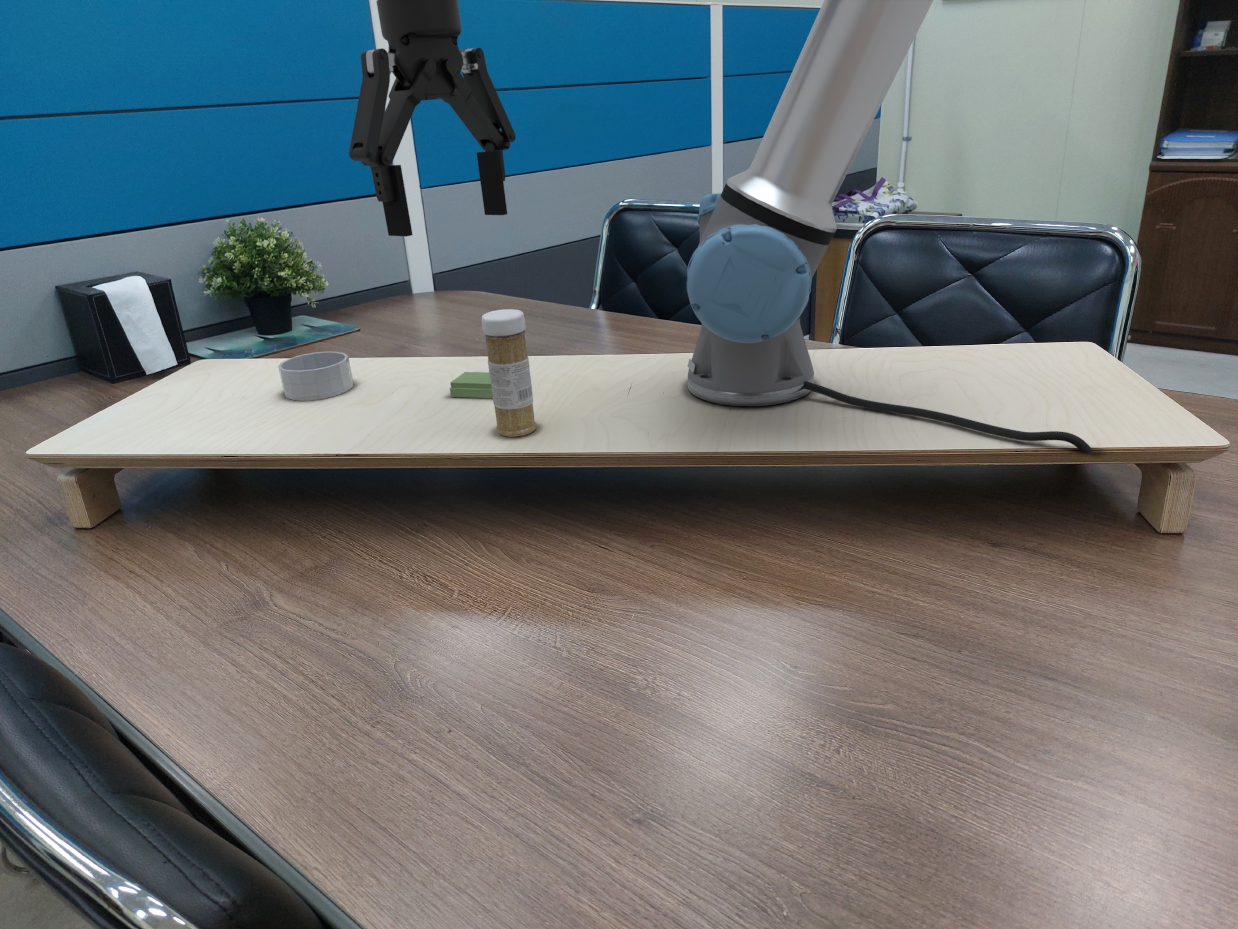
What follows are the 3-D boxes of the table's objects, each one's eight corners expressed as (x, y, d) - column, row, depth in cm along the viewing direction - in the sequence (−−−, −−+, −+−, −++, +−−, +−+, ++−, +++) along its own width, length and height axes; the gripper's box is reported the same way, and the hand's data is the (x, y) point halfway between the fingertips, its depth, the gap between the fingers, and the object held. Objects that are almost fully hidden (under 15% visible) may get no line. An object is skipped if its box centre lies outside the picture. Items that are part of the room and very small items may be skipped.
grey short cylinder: (365, 380, 115) (360, 352, 113) (329, 401, 107) (323, 372, 106) (310, 378, 117) (304, 350, 116) (271, 399, 110) (264, 370, 108)
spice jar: (522, 420, 97) (509, 305, 91) (544, 430, 93) (532, 311, 88) (488, 431, 94) (472, 314, 89) (510, 441, 91) (495, 320, 85)
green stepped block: (523, 386, 108) (522, 372, 108) (509, 399, 104) (507, 384, 103) (467, 384, 110) (465, 370, 110) (450, 397, 106) (448, 382, 105)
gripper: (480, 1, 89) (506, 206, 98) (275, -9, 71) (328, 244, 80) (533, -8, 85) (555, 207, 94) (329, -21, 67) (379, 247, 76)
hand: (451, 224), depth 87 cm, fingers open, 13 cm apart
